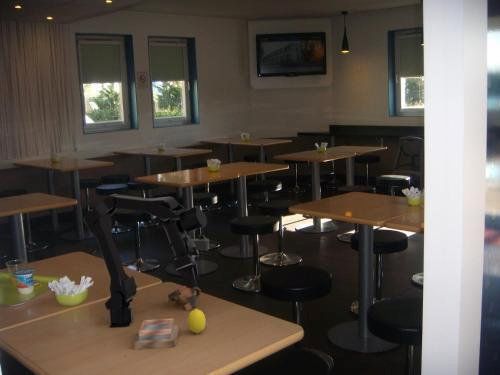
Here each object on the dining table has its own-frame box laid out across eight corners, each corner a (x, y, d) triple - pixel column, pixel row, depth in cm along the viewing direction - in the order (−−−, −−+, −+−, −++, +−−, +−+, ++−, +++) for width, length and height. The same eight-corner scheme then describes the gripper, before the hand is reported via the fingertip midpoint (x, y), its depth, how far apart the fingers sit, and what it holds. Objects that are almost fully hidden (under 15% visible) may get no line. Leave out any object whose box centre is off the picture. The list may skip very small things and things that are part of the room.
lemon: (203, 337, 174) (201, 312, 173) (186, 336, 175) (184, 311, 174) (208, 330, 179) (206, 305, 178) (191, 329, 181) (189, 305, 179)
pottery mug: (180, 315, 195) (169, 294, 196) (173, 319, 203) (162, 298, 204) (209, 298, 201) (198, 277, 202) (200, 302, 209) (189, 283, 210)
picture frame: (134, 349, 168) (133, 334, 167) (141, 333, 180) (139, 318, 179) (175, 346, 168) (173, 331, 168) (179, 330, 180) (178, 316, 179)
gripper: (199, 230, 168) (218, 279, 168) (203, 223, 186) (221, 268, 187) (164, 244, 168) (183, 293, 168) (172, 236, 186) (189, 280, 187)
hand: (196, 282), depth 178 cm, fingers open, 9 cm apart
